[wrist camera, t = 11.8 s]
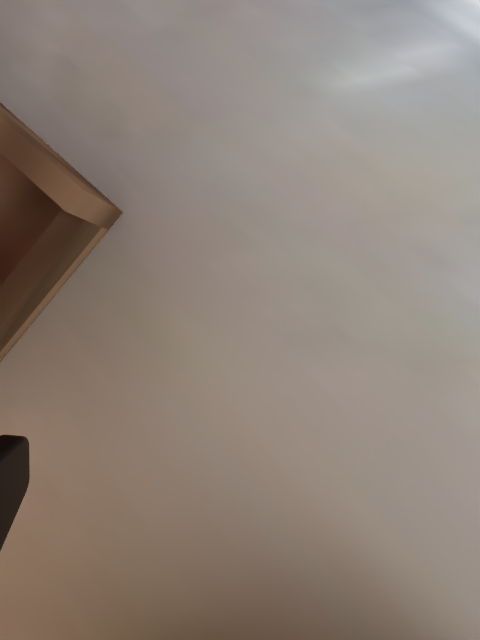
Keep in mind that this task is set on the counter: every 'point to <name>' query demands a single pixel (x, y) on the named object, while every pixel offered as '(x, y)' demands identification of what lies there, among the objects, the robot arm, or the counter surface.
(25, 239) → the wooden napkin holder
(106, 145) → the counter surface
